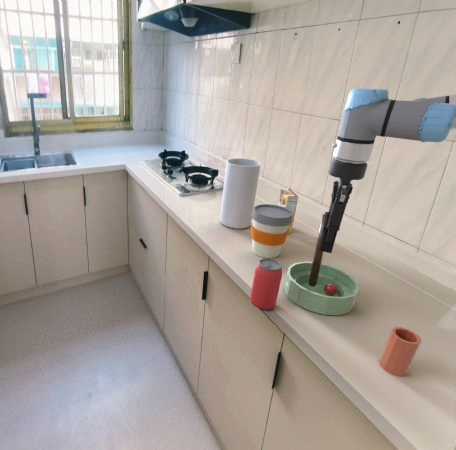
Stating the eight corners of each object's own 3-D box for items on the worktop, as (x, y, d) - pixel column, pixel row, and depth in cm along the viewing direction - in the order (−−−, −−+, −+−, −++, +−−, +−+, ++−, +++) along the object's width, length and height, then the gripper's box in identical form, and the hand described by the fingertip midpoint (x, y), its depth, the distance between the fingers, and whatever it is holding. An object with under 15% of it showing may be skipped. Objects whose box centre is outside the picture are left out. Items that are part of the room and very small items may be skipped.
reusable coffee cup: (269, 264, 107) (277, 221, 101) (238, 248, 117) (244, 208, 110) (292, 254, 114) (301, 213, 108) (261, 240, 123) (268, 201, 117)
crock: (403, 364, 71) (418, 331, 68) (407, 381, 67) (423, 347, 64) (377, 356, 73) (390, 324, 69) (379, 372, 69) (393, 339, 65)
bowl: (350, 289, 96) (356, 271, 94) (354, 326, 82) (361, 306, 79) (287, 273, 103) (290, 256, 100) (279, 305, 88) (284, 285, 86)
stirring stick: (315, 284, 94) (331, 210, 85) (316, 288, 92) (332, 213, 83) (307, 283, 94) (322, 209, 86) (308, 287, 92) (323, 212, 84)
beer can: (244, 301, 89) (251, 262, 84) (258, 292, 93) (266, 254, 88) (265, 314, 85) (274, 273, 80) (280, 304, 89) (289, 265, 84)
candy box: (273, 223, 138) (280, 188, 131) (284, 224, 137) (291, 188, 131) (279, 233, 129) (287, 195, 123) (291, 233, 129) (299, 196, 123)
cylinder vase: (213, 218, 140) (220, 159, 130) (239, 215, 144) (247, 157, 134) (230, 231, 129) (238, 167, 119) (257, 227, 134) (267, 165, 123)
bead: (335, 298, 91) (338, 288, 92) (335, 293, 89) (338, 283, 90) (322, 295, 93) (326, 285, 94) (322, 290, 91) (325, 279, 92)
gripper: (331, 152, 86) (311, 235, 96) (332, 164, 73) (308, 258, 83) (365, 155, 83) (340, 241, 93) (371, 169, 71) (342, 266, 80)
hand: (325, 249), depth 88 cm, fingers closed on stirring stick, 2 cm apart
